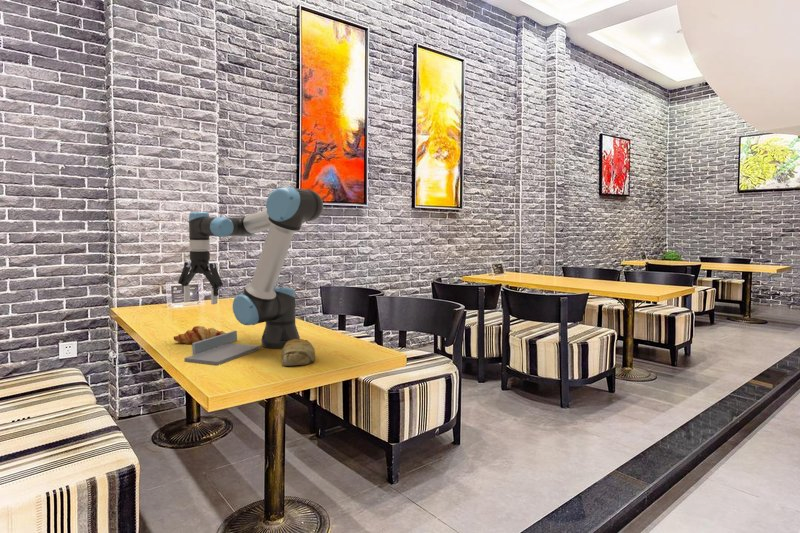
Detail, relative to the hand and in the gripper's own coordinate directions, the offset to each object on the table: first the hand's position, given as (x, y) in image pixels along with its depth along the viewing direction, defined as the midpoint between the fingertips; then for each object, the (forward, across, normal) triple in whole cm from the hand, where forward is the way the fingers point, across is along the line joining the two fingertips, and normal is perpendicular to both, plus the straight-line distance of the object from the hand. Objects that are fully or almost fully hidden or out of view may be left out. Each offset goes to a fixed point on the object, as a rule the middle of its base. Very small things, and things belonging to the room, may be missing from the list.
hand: (200, 302), depth 200 cm
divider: (+16, -12, +5) cm, 20 cm away
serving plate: (+16, -23, +14) cm, 31 cm away
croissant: (+16, 0, 0) cm, 16 cm away
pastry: (+16, -52, +13) cm, 56 cm away
